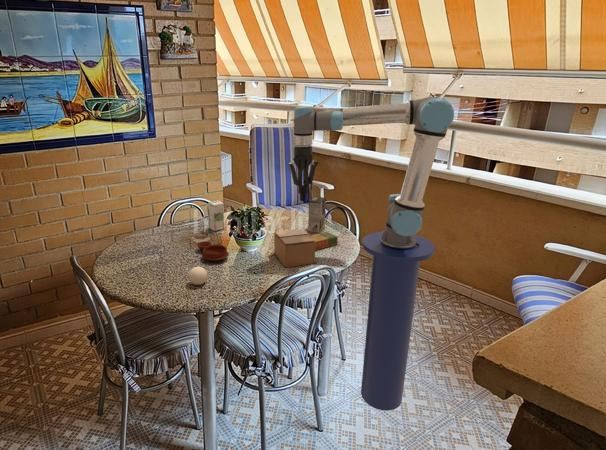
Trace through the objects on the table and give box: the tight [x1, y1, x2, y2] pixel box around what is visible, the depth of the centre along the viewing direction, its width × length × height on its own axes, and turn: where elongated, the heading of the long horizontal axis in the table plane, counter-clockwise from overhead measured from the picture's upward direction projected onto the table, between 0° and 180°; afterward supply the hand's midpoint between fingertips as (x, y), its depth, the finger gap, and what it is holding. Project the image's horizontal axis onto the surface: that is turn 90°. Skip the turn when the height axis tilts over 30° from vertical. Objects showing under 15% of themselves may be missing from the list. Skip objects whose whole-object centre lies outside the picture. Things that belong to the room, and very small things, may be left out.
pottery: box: [196, 241, 230, 263], centre depth 180 cm, size 12×20×4 cm, turn 32°
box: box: [273, 232, 316, 268], centre depth 175 cm, size 15×13×10 cm
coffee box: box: [307, 195, 327, 234], centre depth 207 cm, size 9×6×16 cm
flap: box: [274, 228, 309, 238], centre depth 176 cm, size 7×13×1 cm, turn 105°
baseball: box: [188, 266, 209, 286], centre depth 155 cm, size 7×7×7 cm
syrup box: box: [207, 200, 225, 232], centre depth 210 cm, size 6×6×14 cm
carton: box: [310, 231, 339, 251], centre depth 189 cm, size 8×16×4 cm, turn 121°
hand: (302, 200), depth 176 cm, fingers closed
